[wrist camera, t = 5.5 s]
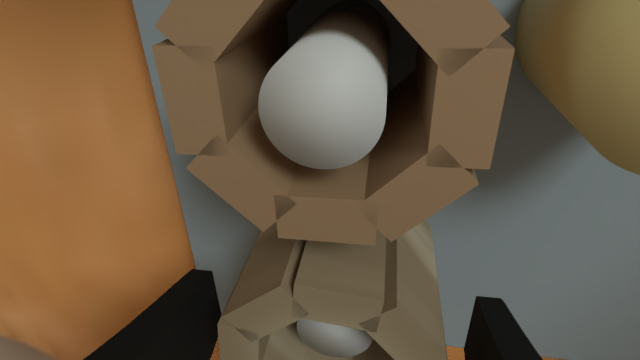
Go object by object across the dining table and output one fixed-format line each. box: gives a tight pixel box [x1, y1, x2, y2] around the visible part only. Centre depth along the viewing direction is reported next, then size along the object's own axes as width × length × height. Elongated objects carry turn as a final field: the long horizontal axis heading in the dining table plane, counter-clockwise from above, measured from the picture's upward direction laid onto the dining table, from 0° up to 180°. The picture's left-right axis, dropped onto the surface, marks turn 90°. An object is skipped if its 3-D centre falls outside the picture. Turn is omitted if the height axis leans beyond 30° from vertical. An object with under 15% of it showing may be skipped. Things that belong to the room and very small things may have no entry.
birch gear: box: [217, 220, 448, 360], centre depth 12 cm, size 5×5×5 cm
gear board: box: [132, 0, 640, 360], centre depth 10 cm, size 20×16×7 cm
